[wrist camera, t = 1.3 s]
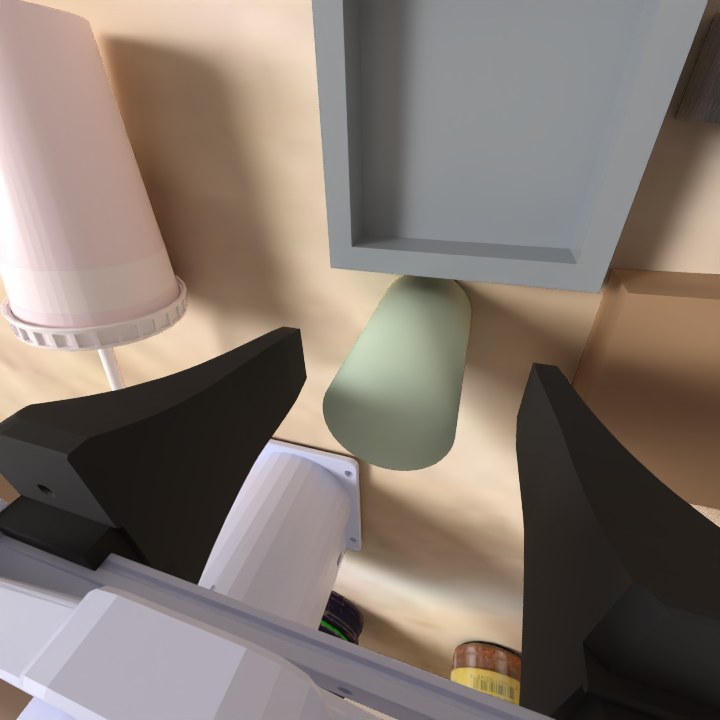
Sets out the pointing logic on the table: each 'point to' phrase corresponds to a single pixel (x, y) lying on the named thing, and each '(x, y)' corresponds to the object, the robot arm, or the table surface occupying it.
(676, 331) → the tan rectangular block
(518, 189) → the slate tray
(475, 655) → the sauce bottle
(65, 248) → the smoothie
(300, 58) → the table surface
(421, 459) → the sage dowel
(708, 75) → the post
